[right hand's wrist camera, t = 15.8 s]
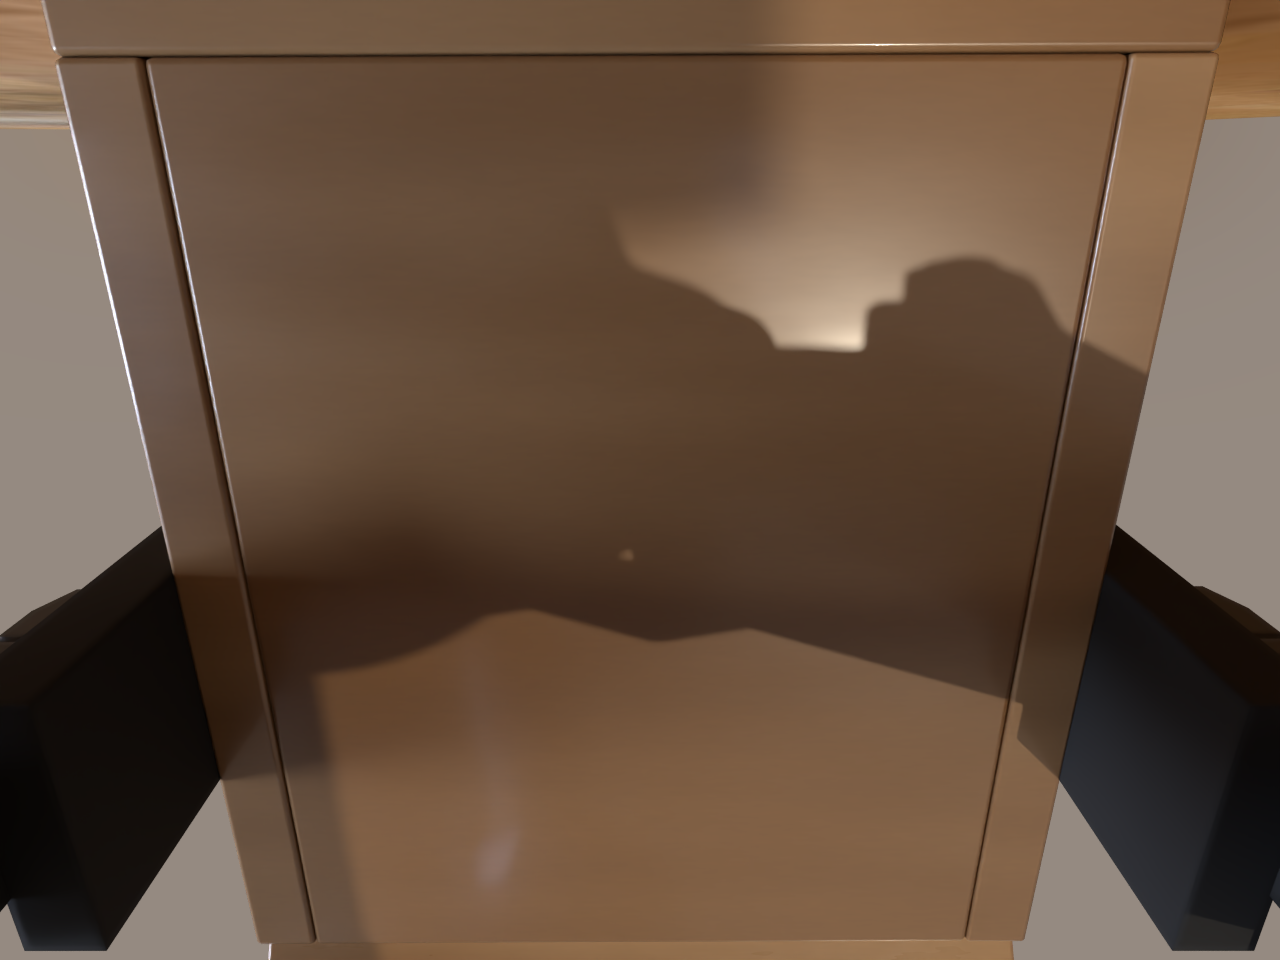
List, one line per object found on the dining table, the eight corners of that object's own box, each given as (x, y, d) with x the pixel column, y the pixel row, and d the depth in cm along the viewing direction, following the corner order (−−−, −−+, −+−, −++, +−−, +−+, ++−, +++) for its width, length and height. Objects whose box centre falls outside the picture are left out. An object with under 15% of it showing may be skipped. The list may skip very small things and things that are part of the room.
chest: (828, 85, 22) (800, 482, 26) (446, 87, 22) (478, 483, 26) (1245, -54, 7) (1025, 942, 11) (24, -51, 7) (256, 946, 11)
